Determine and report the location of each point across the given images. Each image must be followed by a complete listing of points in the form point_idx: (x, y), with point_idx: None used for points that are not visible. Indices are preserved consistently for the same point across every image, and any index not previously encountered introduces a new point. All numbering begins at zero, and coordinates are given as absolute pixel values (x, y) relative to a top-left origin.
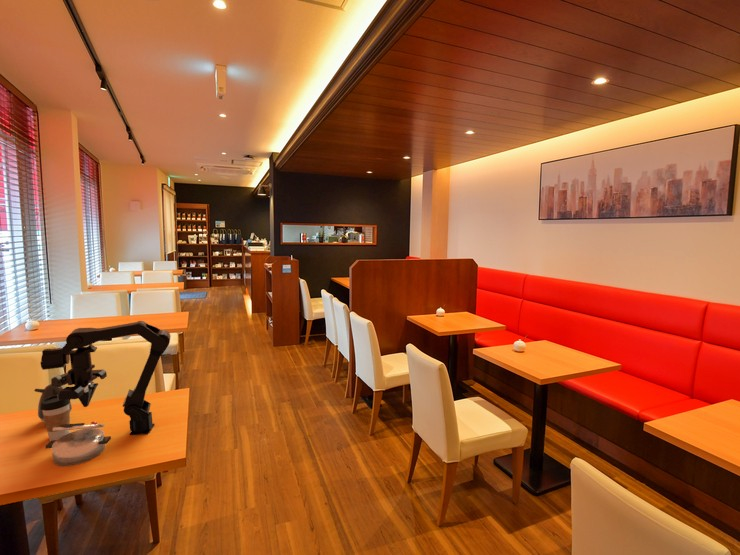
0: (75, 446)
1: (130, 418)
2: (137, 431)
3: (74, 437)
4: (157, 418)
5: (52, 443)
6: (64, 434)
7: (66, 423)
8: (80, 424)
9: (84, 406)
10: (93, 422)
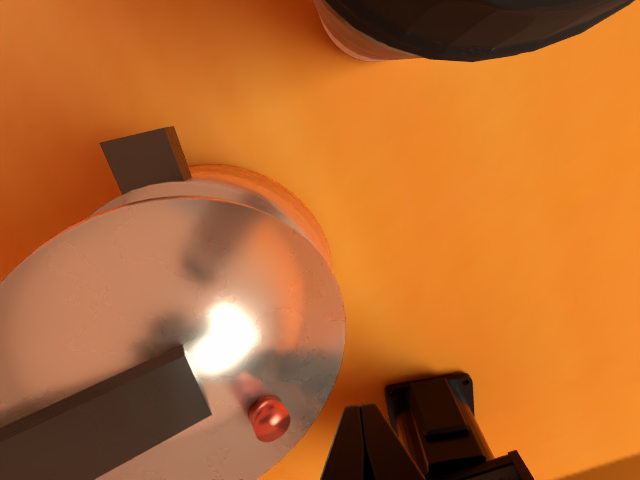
0: None
1: (427, 457)
2: (396, 421)
3: None
4: (534, 413)
5: (137, 171)
6: (357, 56)
7: (387, 59)
8: (147, 441)
9: (346, 417)
10: (256, 433)
